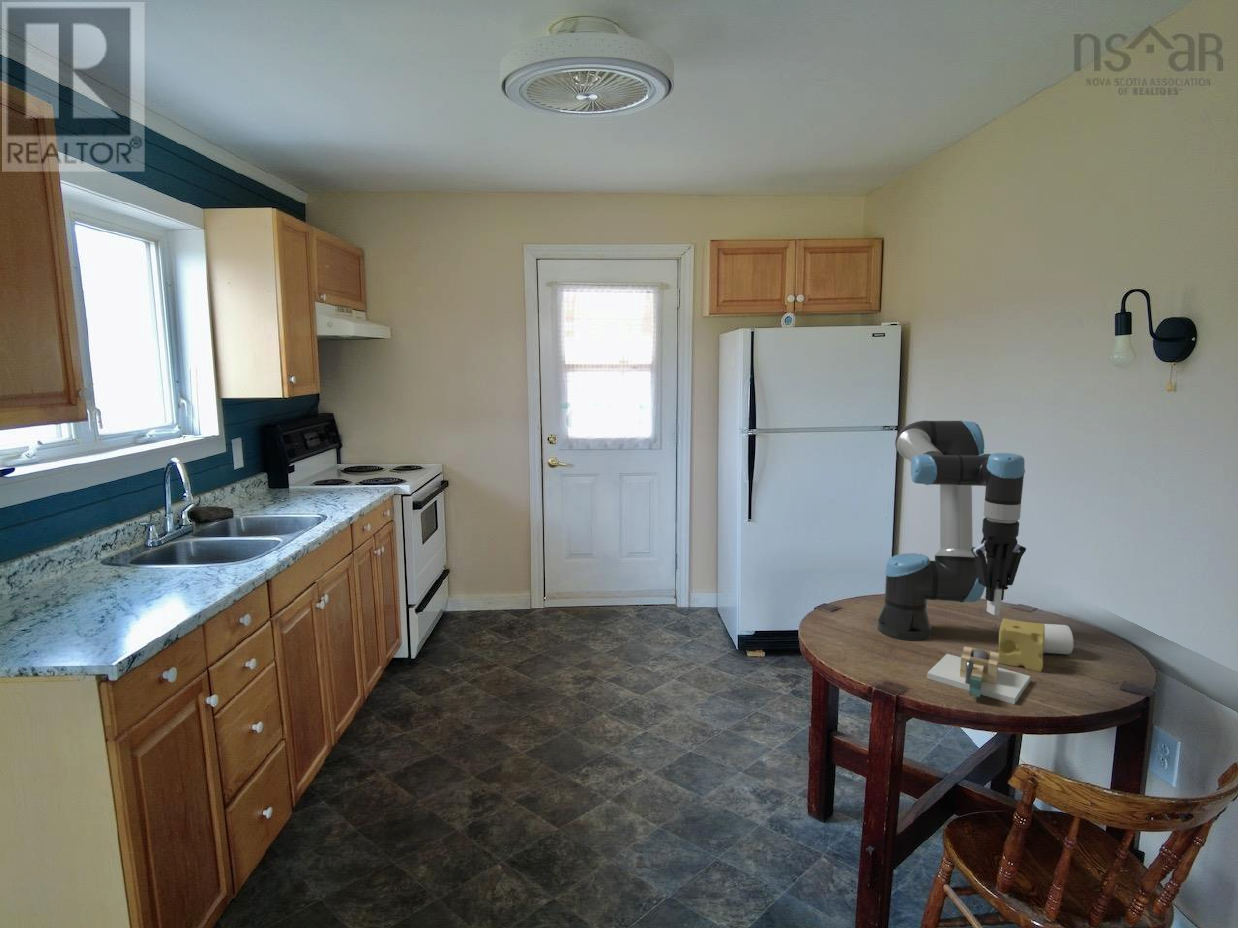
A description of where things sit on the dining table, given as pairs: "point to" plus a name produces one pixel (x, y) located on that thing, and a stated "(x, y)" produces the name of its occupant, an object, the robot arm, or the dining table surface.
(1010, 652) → the cheese
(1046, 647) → the mug
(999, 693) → the base
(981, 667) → the wooden frame with handle
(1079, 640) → the dining table surface
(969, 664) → the dowel
